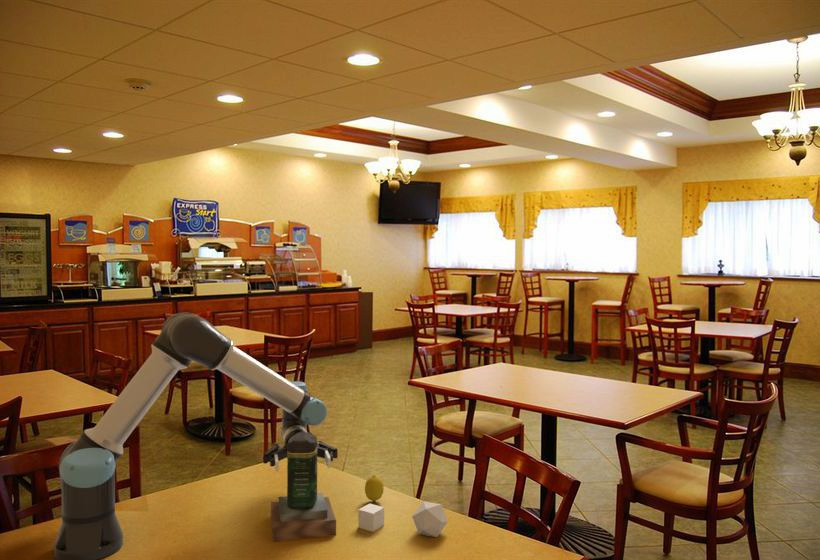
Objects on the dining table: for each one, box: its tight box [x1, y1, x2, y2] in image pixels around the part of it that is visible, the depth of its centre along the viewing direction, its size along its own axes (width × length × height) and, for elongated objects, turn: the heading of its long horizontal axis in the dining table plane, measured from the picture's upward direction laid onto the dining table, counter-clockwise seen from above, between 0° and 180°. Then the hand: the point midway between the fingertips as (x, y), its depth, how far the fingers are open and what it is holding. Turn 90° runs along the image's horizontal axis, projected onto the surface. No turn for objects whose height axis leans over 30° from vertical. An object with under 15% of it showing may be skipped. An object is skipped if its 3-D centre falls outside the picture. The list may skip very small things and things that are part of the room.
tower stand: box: [270, 492, 337, 543], centre depth 167 cm, size 16×16×6 cm
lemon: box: [364, 474, 385, 503], centre depth 183 cm, size 6×6×8 cm
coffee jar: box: [286, 431, 318, 509], centre depth 167 cm, size 10×8×19 cm
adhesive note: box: [357, 503, 385, 533], centre depth 167 cm, size 5×5×5 cm
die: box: [411, 500, 449, 538], centre depth 163 cm, size 8×9×10 cm
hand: (303, 465), depth 163 cm, fingers open, 13 cm apart
